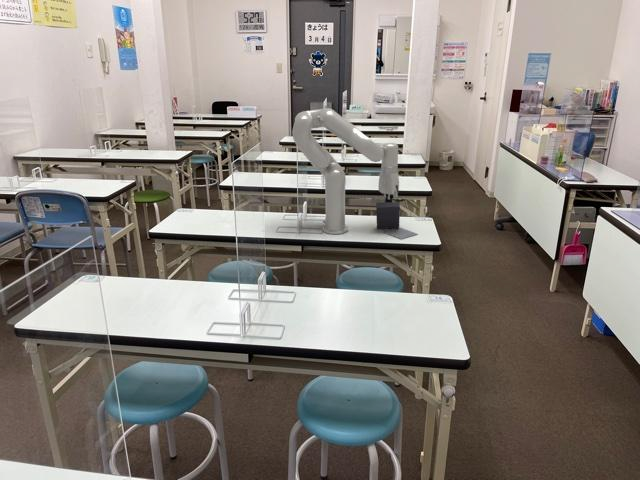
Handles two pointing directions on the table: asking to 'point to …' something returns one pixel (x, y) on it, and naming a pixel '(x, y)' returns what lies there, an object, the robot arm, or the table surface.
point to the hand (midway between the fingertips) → (388, 206)
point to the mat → (400, 233)
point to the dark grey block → (388, 215)
